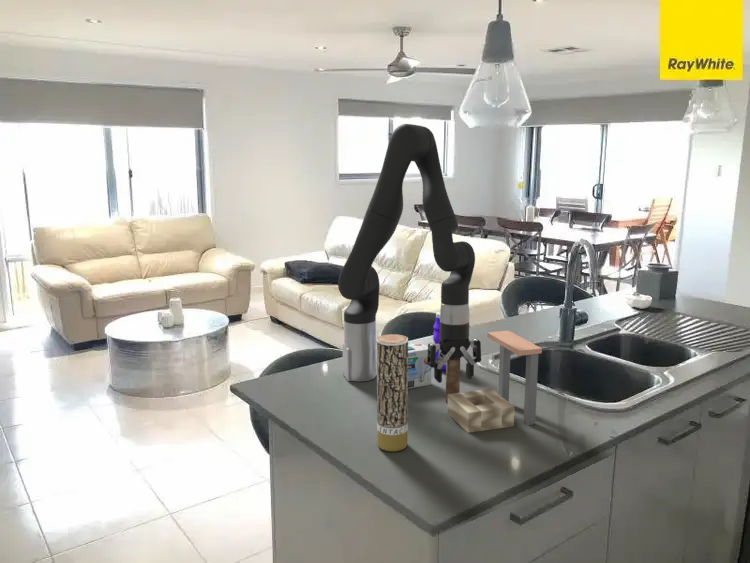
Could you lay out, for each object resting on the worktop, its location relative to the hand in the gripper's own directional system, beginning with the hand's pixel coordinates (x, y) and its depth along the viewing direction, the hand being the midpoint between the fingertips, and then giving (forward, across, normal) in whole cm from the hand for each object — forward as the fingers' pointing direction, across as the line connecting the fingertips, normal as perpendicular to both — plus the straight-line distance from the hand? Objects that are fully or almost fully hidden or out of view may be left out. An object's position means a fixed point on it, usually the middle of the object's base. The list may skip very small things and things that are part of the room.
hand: (454, 379), depth 161 cm
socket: (+6, +2, -12) cm, 14 cm away
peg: (+6, 0, 0) cm, 6 cm away
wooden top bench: (+6, +11, -11) cm, 16 cm away
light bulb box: (+6, -6, +16) cm, 18 cm away
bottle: (+6, +8, +26) cm, 28 cm away
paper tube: (+6, -23, -19) cm, 31 cm away
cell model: (+7, +117, +71) cm, 137 cm away
